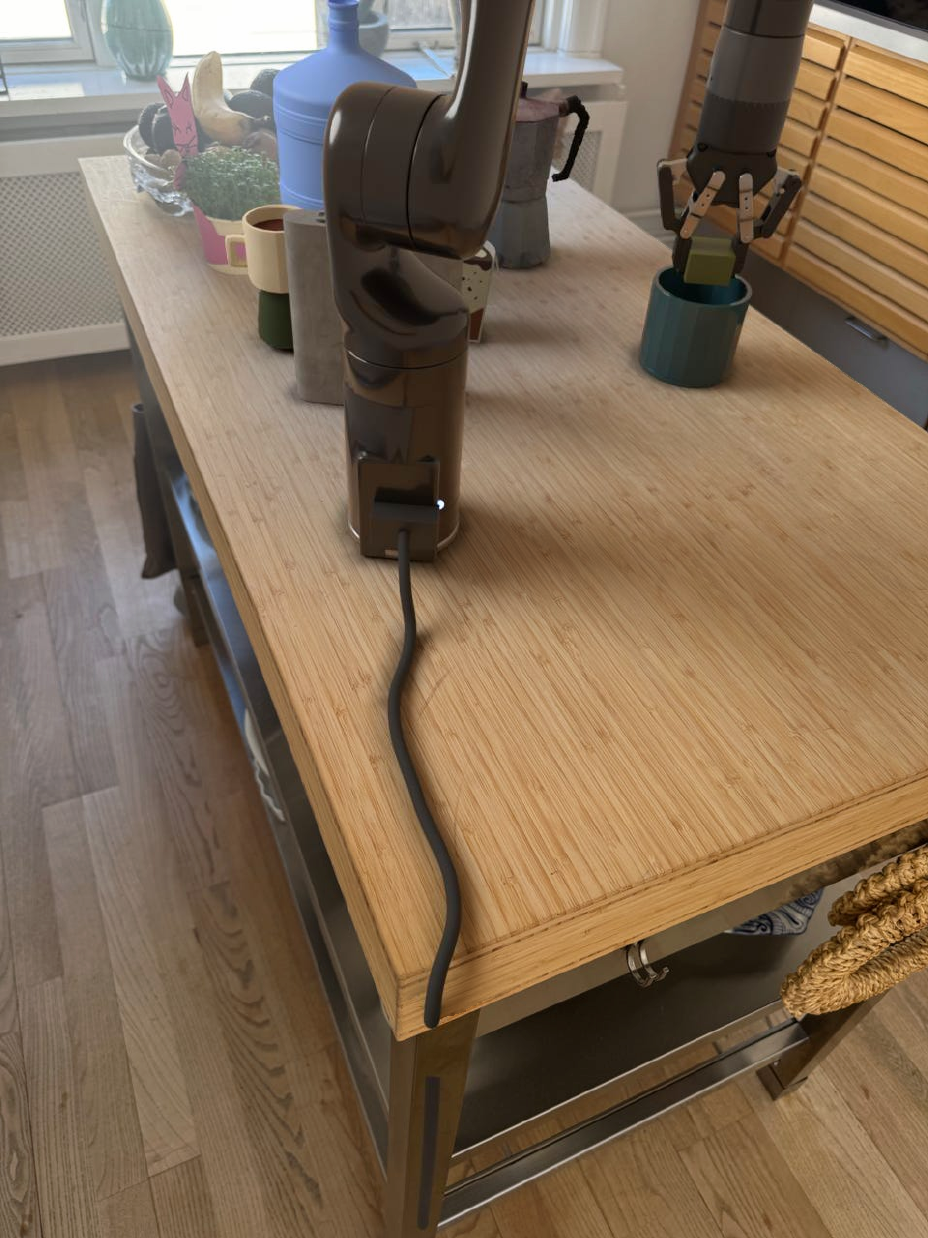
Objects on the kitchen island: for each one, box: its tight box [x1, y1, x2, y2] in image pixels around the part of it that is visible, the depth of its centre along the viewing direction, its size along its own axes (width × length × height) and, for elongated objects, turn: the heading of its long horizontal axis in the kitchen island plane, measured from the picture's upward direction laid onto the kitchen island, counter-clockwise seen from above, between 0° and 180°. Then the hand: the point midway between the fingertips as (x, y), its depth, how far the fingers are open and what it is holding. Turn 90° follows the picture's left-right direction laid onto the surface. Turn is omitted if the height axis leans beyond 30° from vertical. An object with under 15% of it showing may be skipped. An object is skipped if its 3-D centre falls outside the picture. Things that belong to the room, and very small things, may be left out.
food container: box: [462, 240, 500, 344], centre depth 101 cm, size 12×6×10 cm, turn 84°
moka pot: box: [487, 80, 591, 269], centre depth 113 cm, size 10×15×20 cm, turn 115°
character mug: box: [224, 204, 302, 350], centre depth 96 cm, size 11×7×13 cm, turn 93°
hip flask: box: [283, 209, 463, 406], centre depth 86 cm, size 16×4×20 cm, turn 93°
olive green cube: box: [683, 235, 736, 286], centre depth 94 cm, size 4×4×3 cm
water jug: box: [272, 0, 418, 211], centre depth 104 cm, size 16×16×28 cm
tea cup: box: [637, 264, 753, 388], centre depth 98 cm, size 10×10×9 cm
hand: (704, 272), depth 95 cm, fingers closed on olive green cube, 4 cm apart
